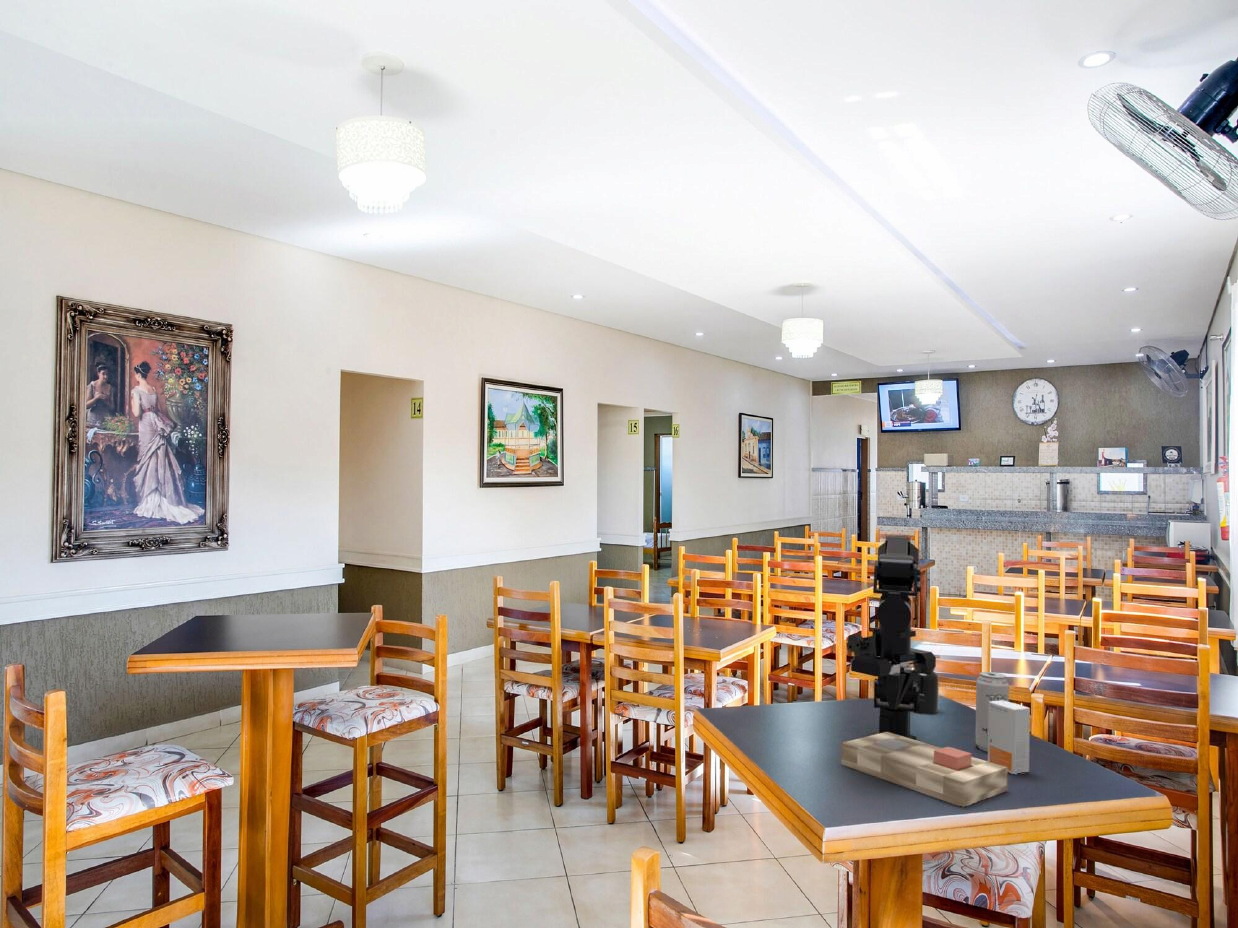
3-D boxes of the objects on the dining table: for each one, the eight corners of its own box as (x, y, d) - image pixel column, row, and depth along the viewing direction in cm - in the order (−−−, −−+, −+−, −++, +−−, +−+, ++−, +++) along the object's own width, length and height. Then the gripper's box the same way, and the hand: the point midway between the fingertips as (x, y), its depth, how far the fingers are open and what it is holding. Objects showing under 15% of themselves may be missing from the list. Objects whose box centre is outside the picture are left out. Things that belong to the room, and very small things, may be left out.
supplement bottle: (910, 713, 186) (911, 661, 186) (905, 706, 192) (905, 656, 193) (941, 715, 184) (942, 663, 185) (934, 708, 191) (935, 658, 192)
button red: (947, 766, 140) (947, 746, 140) (971, 774, 136) (971, 753, 136) (933, 770, 137) (934, 750, 137) (957, 778, 133) (957, 757, 134)
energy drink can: (984, 753, 156) (985, 677, 157) (969, 744, 162) (971, 670, 163) (1014, 754, 156) (1015, 678, 157) (998, 745, 162) (999, 671, 163)
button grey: (888, 756, 149) (889, 737, 149) (909, 763, 146) (909, 744, 146) (874, 760, 147) (874, 741, 147) (895, 767, 143) (895, 747, 143)
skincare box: (986, 764, 150) (987, 701, 150) (1002, 762, 151) (1003, 699, 152) (1013, 775, 144) (1014, 709, 145) (1030, 772, 146) (1031, 707, 146)
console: (886, 752, 155) (886, 731, 155) (1007, 790, 136) (1007, 767, 136) (841, 764, 147) (841, 742, 147) (962, 807, 127) (963, 782, 128)
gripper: (887, 615, 159) (885, 693, 158) (827, 620, 148) (826, 704, 147) (938, 623, 150) (936, 706, 149) (878, 629, 139) (876, 719, 138)
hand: (893, 708), depth 146 cm, fingers closed
